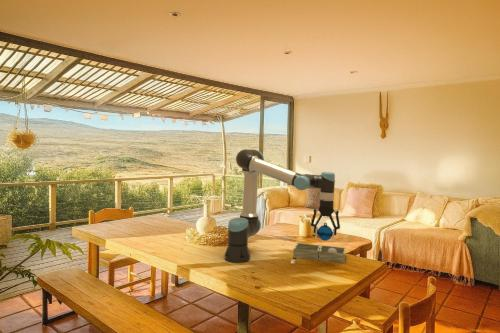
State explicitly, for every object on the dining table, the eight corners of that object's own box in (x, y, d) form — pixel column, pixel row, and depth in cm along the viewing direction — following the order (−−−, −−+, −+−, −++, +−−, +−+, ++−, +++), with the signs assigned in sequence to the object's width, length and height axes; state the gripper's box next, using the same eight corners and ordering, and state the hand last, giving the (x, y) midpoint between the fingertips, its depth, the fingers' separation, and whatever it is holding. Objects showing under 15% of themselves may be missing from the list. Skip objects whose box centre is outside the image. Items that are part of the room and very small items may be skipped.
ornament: (335, 240, 188) (336, 223, 187) (327, 243, 181) (328, 225, 181) (321, 237, 194) (322, 220, 193) (313, 240, 187) (314, 222, 187)
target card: (304, 265, 189) (304, 264, 189) (290, 263, 191) (290, 262, 191) (305, 261, 195) (305, 260, 195) (292, 260, 197) (292, 259, 197)
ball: (337, 260, 197) (337, 249, 196) (326, 258, 198) (327, 248, 198) (337, 257, 202) (337, 247, 202) (327, 255, 204) (327, 246, 204)
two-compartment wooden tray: (344, 265, 191) (345, 254, 191) (292, 258, 200) (293, 249, 199) (345, 257, 205) (345, 247, 205) (296, 252, 214) (296, 242, 214)
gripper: (346, 200, 187) (344, 240, 188) (308, 197, 193) (306, 236, 194) (346, 202, 180) (344, 243, 181) (306, 199, 186) (304, 239, 187)
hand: (324, 239), depth 188 cm, fingers closed on ornament, 9 cm apart
